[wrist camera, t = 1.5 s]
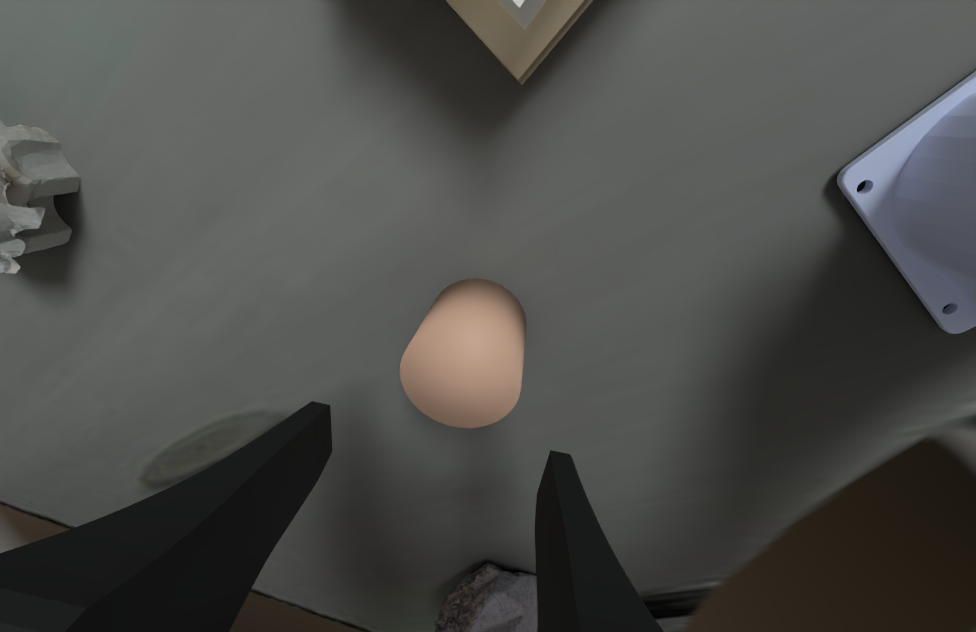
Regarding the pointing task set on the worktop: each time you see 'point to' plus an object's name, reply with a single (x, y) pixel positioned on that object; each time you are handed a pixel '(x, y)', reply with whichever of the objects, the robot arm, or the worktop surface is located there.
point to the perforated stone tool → (491, 603)
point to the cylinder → (467, 355)
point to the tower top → (522, 10)
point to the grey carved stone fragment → (31, 193)
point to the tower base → (519, 31)
